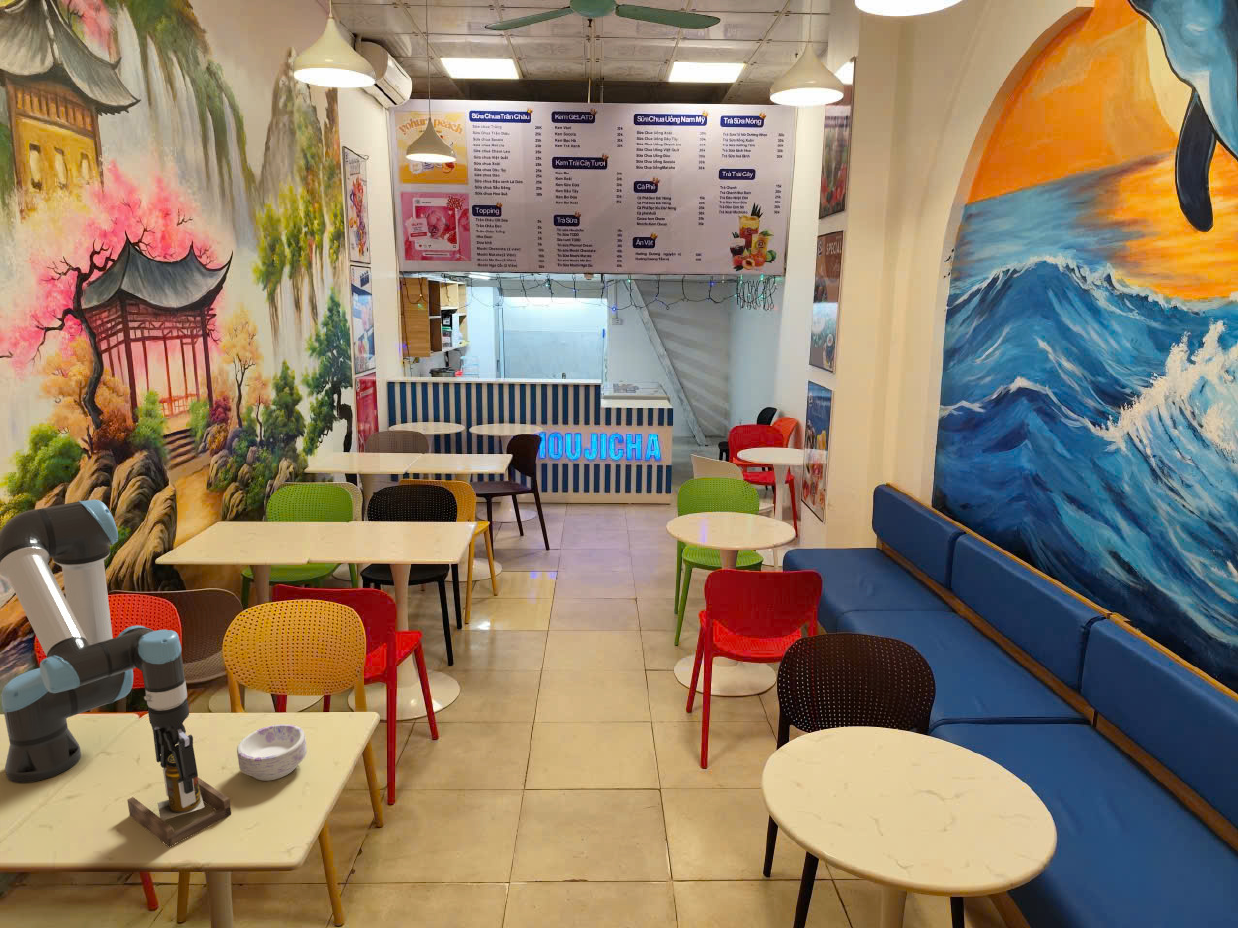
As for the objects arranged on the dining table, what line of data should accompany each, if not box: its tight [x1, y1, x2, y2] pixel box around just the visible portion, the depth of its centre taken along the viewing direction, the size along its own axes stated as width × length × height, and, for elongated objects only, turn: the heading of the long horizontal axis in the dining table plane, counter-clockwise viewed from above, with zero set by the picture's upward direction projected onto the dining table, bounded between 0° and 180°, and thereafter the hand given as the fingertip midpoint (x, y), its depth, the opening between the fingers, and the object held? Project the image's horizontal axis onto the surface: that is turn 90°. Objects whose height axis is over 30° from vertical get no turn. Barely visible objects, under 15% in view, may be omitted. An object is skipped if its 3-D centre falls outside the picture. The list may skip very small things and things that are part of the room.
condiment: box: [156, 754, 205, 821], centre depth 179 cm, size 7×8×12 cm
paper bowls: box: [236, 723, 308, 782], centre depth 197 cm, size 15×15×8 cm
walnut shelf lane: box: [127, 777, 232, 848], centre depth 181 cm, size 18×13×4 cm
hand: (181, 798), depth 179 cm, fingers closed on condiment, 6 cm apart
